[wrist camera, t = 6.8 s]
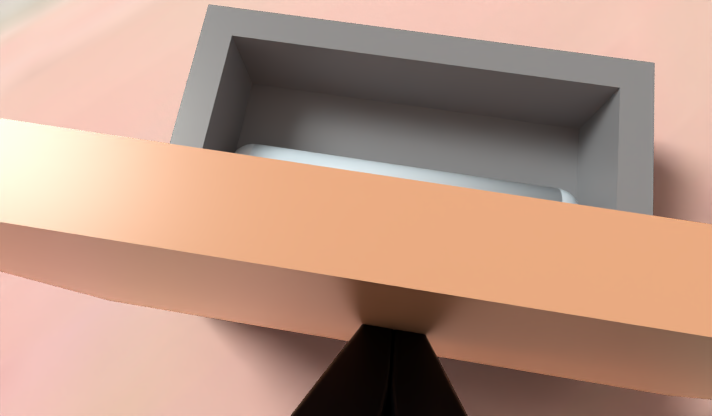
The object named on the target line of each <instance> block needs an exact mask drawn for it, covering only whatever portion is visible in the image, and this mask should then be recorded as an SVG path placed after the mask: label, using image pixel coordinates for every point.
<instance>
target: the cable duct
mask: <svg viewBox="0 0 712 416" xmlns="http://www.w3.org/2000/svg"><path fill="white" fill-rule="evenodd" d="M654 67H655V63H652V62H644V61H636V60H629V59H621V58H613V57H606V56H598V55H591V54H583V53H575V52H568V51H560V50H552V49H545V48H537V47H530V46H522V45H514V44H507V43H499V42H491V41H484V40H476V39H468V38H461V37H453V36H446V35H438V34H430V33H423V32H415V31H407V30H400V29H392V28H385V27H377V26H369V25H362V24H354V23H346V22H339V21H331V20H324V19H316V18H308V17H301V16H293V15H285V14H278V13H270V12H263V11H255V10H247V9H240V8H232V7H224V6H217V5H208V8H207V12H206V16H205V19H204V23H203V26H202V30H201V33H200V37H199V41H198V44H197V48H196V51H195V55H194V58H193V62H192V66H191V69H190V73H189V76H188V80H187V83H186V87H185V91H184V94H183V98H182V101H181V105H180V108H179V112H178V116H177V119H176V123H175V126H174V130H173V133H172V137H171V141H170V144H176V145H183V146H189V147H196V148H203V149H209V150H216V151H223V152H230V153H236V154H243V155H250V156H256V157H263V158H270V159H277V160H283V161H290V162H297V163H303V164H310V165H317V166H324V167H330V168H337V169H344V170H350V171H357V172H364V173H371V174H377V175H384V176H391V177H397V178H404V179H411V180H418V181H424V182H431V183H438V184H444V185H451V186H458V187H465V188H471V189H478V190H485V191H491V192H498V193H505V194H512V195H518V196H525V197H532V198H538V199H545V200H552V201H559V202H565V203H572V204H579V205H585V206H592V207H599V208H606V209H612V210H619V211H626V212H632V213H639V214H646V215H652V216H653V164H654Z"/></svg>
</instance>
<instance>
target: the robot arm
mask: <svg viewBox="0 0 712 416" xmlns="http://www.w3.org/2000/svg"><path fill="white" fill-rule="evenodd" d="M291 416H467V414H466V412H465V410H464V408H463V406H462V404H461V402H460V400H459V398H458V397H457V395H456V393H455V391H454V389H453V387H452V385H451V383H450V381H449V379H448V377H447V375H446V373H445V371H444V369H443V367H442V365H441V364H440V362H439V360H438V358H437V356H436V354H435V352H434V350H433V348H432V346H431V344H430V342H429V340H428V338H427V336H426V335H425V334H420V333H414V332H408V331H402V330H393V329H390V328H384V327H378V326H373V325H367V324H362V325H361V326H360V327H359V329H358V330H357V331H356V332H355V334H354V335H353V336H352V338H351V339H350V340H349V341H348V343H347V344H346V345H345V347H344V348H343V349H342V350H341V352H340V353H339V354H338V355H337V357H336V358H335V359H334V361H333V362H332V363H331V364H330V366H329V367H328V368H327V370H326V371H325V372H324V373H323V375H322V376H321V377H320V379H319V380H318V381H317V382H316V384H315V385H314V386H313V388H312V389H311V390H310V391H309V393H308V394H307V395H306V396H305V398H304V399H303V400H302V402H301V403H300V404H299V405H298V407H297V408H296V409H295V411H294V412H293V413H292V414H291Z"/></svg>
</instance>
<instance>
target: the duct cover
mask: <svg viewBox="0 0 712 416" xmlns="http://www.w3.org/2000/svg"><path fill="white" fill-rule="evenodd" d="M0 271H1V272H4V273H8V274H12V275H16V276H19V277H23V278H27V279H31V280H34V281H38V282H42V283H46V284H49V285H53V286H57V287H61V288H64V289H68V290H72V291H76V292H79V293H83V294H87V295H91V296H94V297H98V298H102V299H106V300H109V301H115V302H121V303H126V304H132V305H138V306H144V307H150V308H156V309H162V310H168V311H174V312H179V313H185V314H191V315H197V316H203V317H209V318H215V319H221V320H227V321H232V322H238V323H244V324H250V325H256V326H262V327H268V328H274V329H280V330H286V331H291V332H297V333H303V334H309V335H315V336H321V337H327V338H333V339H339V340H344V341H349V340H350V339H351V338H352V336H353V335H354V334H355V332H356V331H357V330H358V329H359V327H360V326H361V325H362V324H367V325H373V326H378V327H384V328H390V329H393V330H402V331H408V332H414V333H420V334H425V335H426V336H427V338H428V340H429V342H430V344H431V346H432V348H433V350H434V352H435V354H436V356H439V357H445V358H450V359H456V360H462V361H468V362H474V363H480V364H486V365H492V366H498V367H503V368H509V369H515V370H521V371H527V372H533V373H539V374H545V375H551V376H557V377H562V378H568V379H574V380H580V381H586V382H592V383H598V384H604V385H610V386H615V387H621V388H627V389H633V390H639V391H645V392H651V393H657V394H663V395H668V396H679V397H690V398H701V399H712V224H706V223H699V222H693V221H686V220H679V219H673V218H666V217H659V216H652V215H646V214H639V213H632V212H626V211H619V210H612V209H606V208H599V207H592V206H585V205H579V204H572V203H565V202H559V201H552V200H545V199H538V198H532V197H525V196H518V195H512V194H505V193H498V192H491V191H485V190H478V189H471V188H465V187H458V186H451V185H444V184H438V183H431V182H424V181H418V180H411V179H404V178H397V177H391V176H384V175H377V174H371V173H364V172H357V171H350V170H344V169H337V168H330V167H324V166H317V165H310V164H303V163H297V162H290V161H283V160H277V159H270V158H263V157H256V156H250V155H243V154H236V153H230V152H223V151H216V150H209V149H203V148H196V147H189V146H183V145H176V144H169V143H162V142H156V141H149V140H142V139H136V138H129V137H122V136H115V135H109V134H102V133H95V132H89V131H82V130H75V129H69V128H62V127H55V126H48V125H42V124H35V123H28V122H22V121H15V120H8V119H1V118H0Z"/></svg>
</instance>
